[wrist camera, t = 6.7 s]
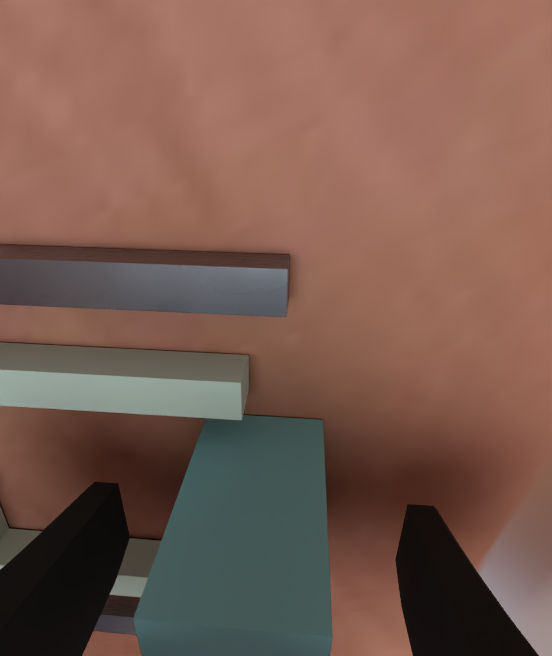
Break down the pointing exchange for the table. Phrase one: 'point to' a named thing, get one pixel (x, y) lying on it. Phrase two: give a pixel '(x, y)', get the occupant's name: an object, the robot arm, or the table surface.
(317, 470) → the two-compartment tray
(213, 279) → the lane rails
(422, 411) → the table surface
